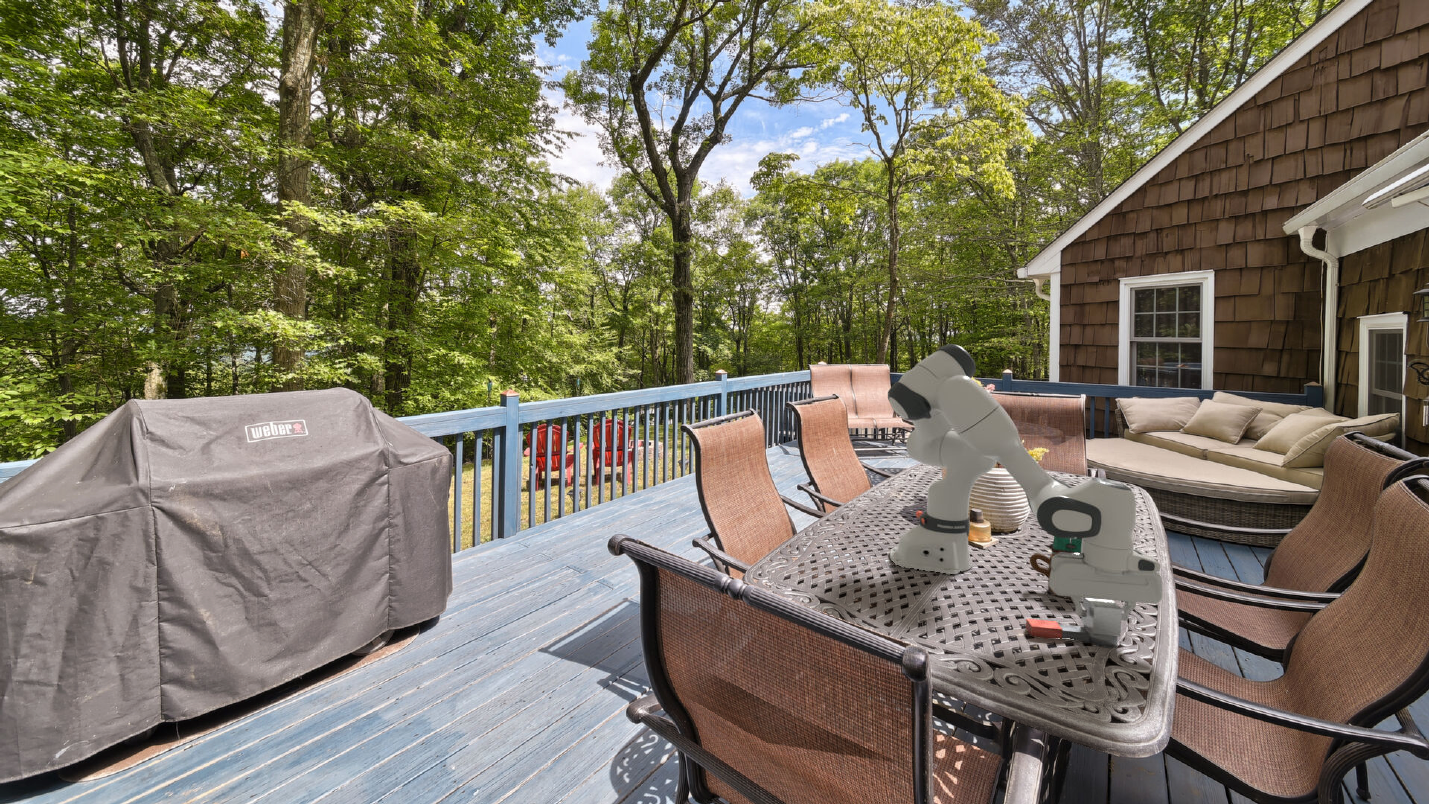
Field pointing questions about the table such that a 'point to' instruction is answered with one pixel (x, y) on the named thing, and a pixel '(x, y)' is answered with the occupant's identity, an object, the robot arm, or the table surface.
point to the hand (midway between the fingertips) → (1101, 617)
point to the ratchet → (1068, 632)
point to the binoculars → (1066, 545)
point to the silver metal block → (1102, 616)
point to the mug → (1043, 569)
